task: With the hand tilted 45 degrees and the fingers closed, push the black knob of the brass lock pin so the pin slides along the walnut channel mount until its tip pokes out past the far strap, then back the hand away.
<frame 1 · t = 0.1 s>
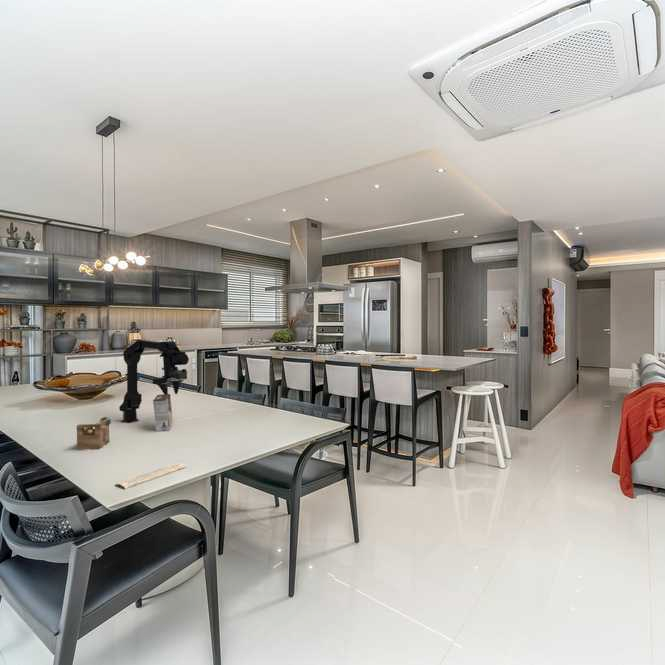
hand: (171, 395, 211), 16 cm above the table, tool pointing down, fingers open, 7 cm apart
newspaper: (152, 478, 142), on the table
coffee box: (164, 427, 205), on the table, touching gripper
lock pin: (97, 426, 181), point 8 cm above the table, slide at 0.0 cm
mount: (93, 446, 177), on the table
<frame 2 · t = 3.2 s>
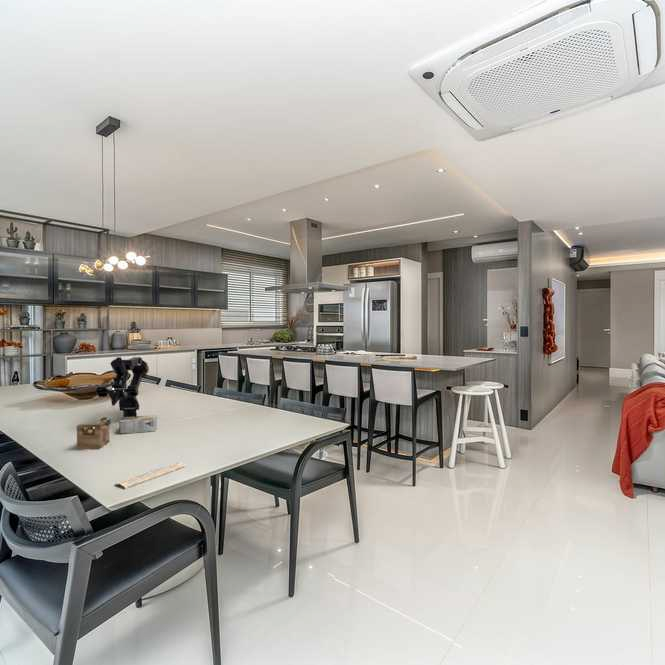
hand: (113, 405, 198), 13 cm above the table, tool tilted 45°, fingers closed
coffee box: (156, 422, 204), point 3 cm above the table
everything else where it was.
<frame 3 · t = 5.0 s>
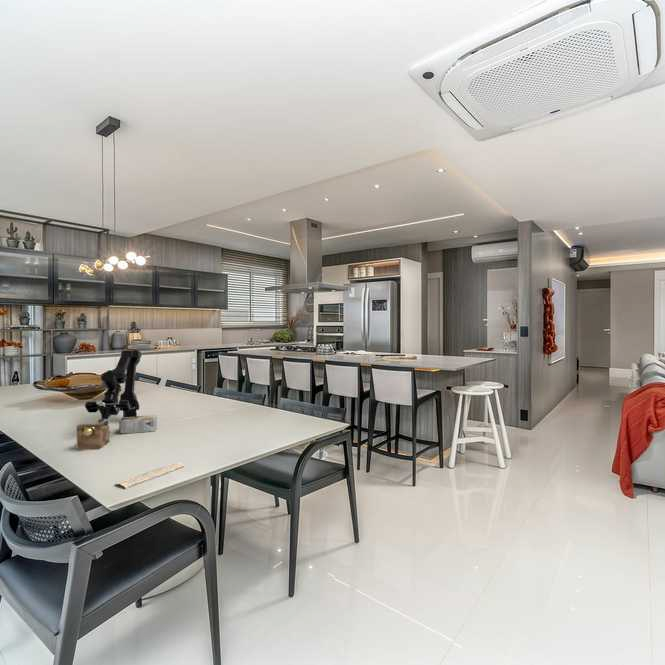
hand: (103, 421, 187), 8 cm above the table, tool tilted 45°, fingers closed, pressing on lock pin
lock pin: (95, 427, 178), point 8 cm above the table, slide at 2.7 cm, touching gripper
everything else where it was.
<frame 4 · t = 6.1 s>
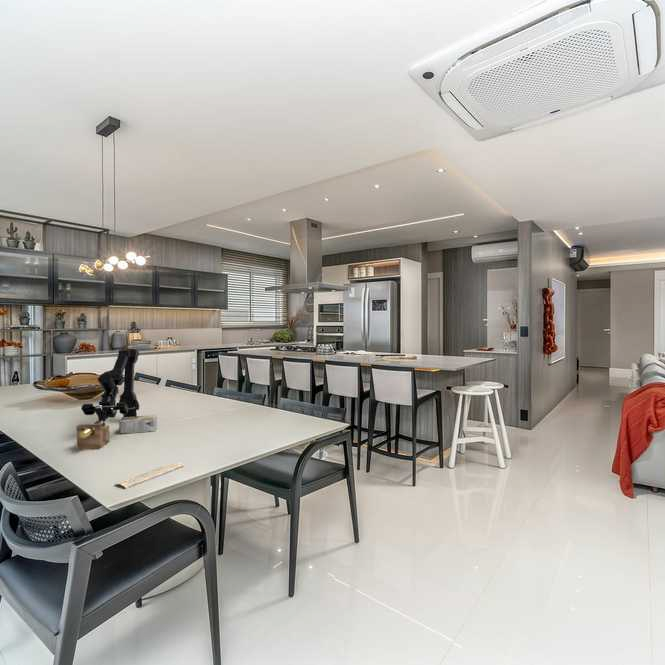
hand: (100, 424, 184), 8 cm above the table, tool tilted 45°, fingers closed
lock pin: (91, 429, 175), point 8 cm above the table, slide at 6.2 cm
everything else where it was.
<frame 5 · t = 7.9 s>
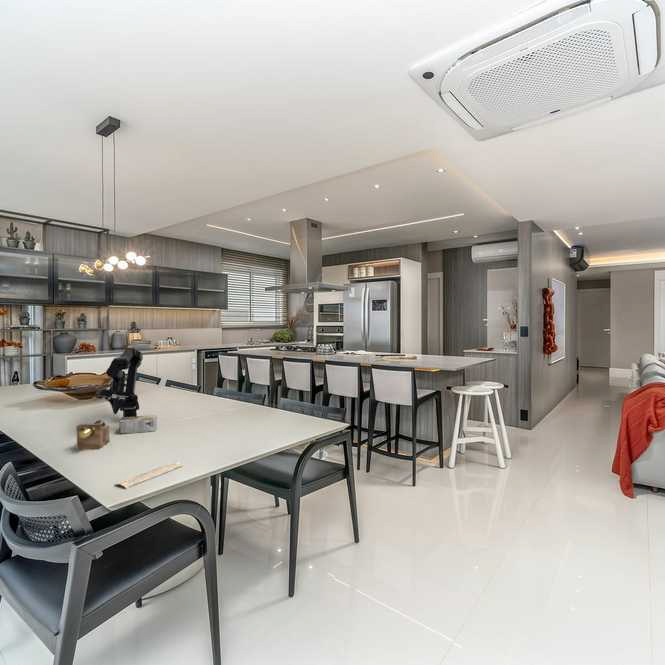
hand: (115, 413, 198), 9 cm above the table, tool tilted 25°, fingers closed
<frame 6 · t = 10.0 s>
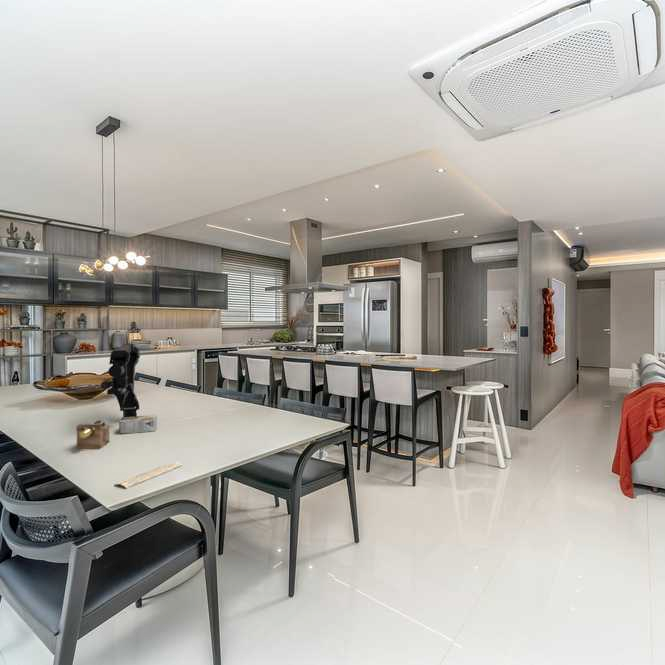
hand: (121, 405, 203), 12 cm above the table, tool pointing down, fingers closed
at the end: lock pin slide at 6.2 cm; the gripper is holding nothing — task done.
